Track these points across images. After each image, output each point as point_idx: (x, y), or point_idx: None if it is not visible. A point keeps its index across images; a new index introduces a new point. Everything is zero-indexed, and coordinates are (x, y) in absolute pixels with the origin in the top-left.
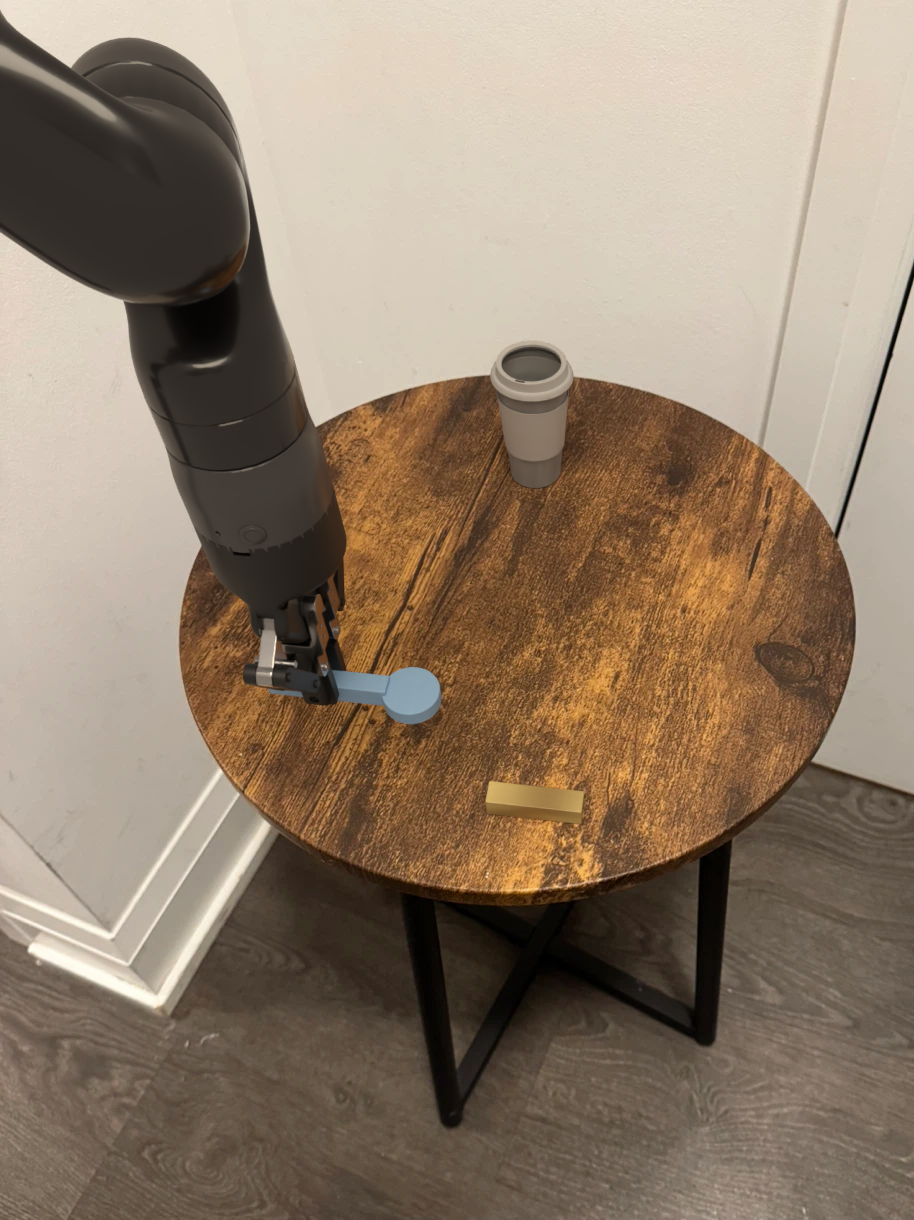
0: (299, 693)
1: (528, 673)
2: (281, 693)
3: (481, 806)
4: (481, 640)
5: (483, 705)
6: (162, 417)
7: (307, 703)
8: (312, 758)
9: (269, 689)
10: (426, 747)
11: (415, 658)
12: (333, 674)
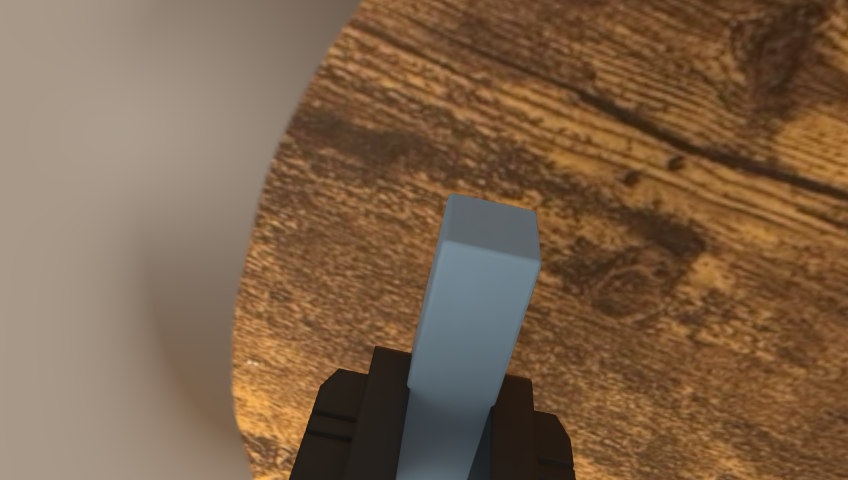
0: (420, 316)
1: (681, 461)
2: (437, 243)
3: None
4: (798, 397)
5: (622, 387)
6: None
7: (335, 374)
8: (549, 38)
9: (445, 212)
10: (538, 284)
11: (795, 273)
12: (446, 476)
